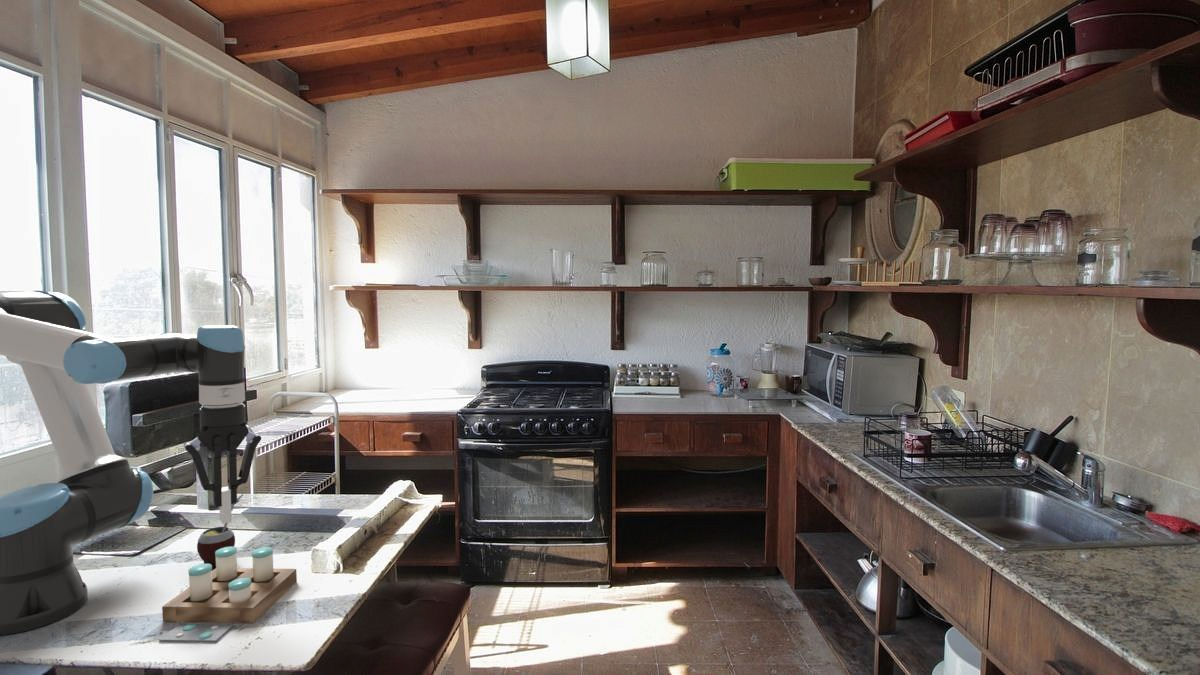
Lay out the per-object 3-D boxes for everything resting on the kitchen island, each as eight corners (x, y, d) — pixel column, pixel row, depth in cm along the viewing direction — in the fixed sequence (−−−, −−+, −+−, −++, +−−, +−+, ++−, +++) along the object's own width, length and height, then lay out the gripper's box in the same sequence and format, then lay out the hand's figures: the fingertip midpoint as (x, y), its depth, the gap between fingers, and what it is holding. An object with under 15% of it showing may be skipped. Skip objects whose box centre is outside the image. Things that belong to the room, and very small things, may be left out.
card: (159, 641, 101) (159, 638, 101) (180, 625, 106) (180, 622, 106) (215, 642, 101) (215, 639, 101) (234, 626, 106) (234, 623, 106)
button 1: (185, 601, 109) (183, 572, 108) (198, 591, 112) (197, 563, 112) (204, 601, 108) (203, 573, 108) (217, 591, 112) (216, 563, 112)
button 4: (249, 581, 116) (247, 555, 115) (259, 572, 120) (258, 546, 119) (267, 582, 116) (266, 555, 115) (277, 573, 120) (276, 547, 119)
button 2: (212, 581, 116) (210, 554, 116) (224, 572, 120) (223, 546, 119) (230, 581, 116) (229, 554, 116) (241, 572, 120) (240, 546, 119)
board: (162, 622, 107) (162, 606, 107) (217, 581, 122) (216, 567, 122) (253, 623, 107) (253, 607, 107) (296, 582, 122) (296, 568, 121)
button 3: (225, 615, 109) (223, 587, 108) (237, 605, 112) (236, 577, 112) (244, 616, 109) (243, 587, 108) (256, 605, 112) (255, 577, 112)
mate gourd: (190, 573, 125) (187, 506, 124) (213, 556, 133) (211, 493, 132) (225, 573, 126) (223, 506, 124) (246, 556, 133) (244, 493, 132)
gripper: (184, 411, 105) (188, 535, 107) (265, 403, 114) (267, 518, 116) (179, 404, 111) (182, 523, 113) (255, 397, 120) (258, 507, 122)
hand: (225, 520), depth 115 cm, fingers closed
